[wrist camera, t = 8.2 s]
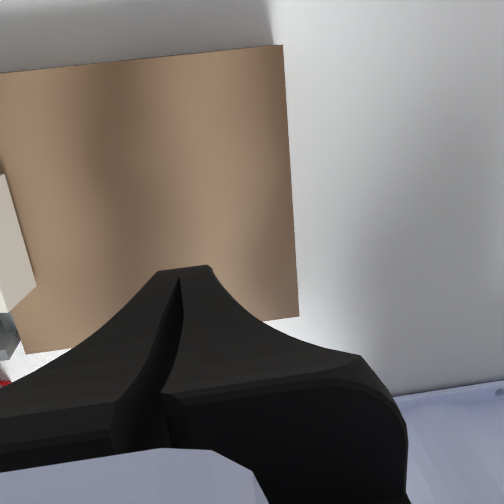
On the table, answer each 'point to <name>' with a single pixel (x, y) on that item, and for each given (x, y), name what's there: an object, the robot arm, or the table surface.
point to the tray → (8, 336)
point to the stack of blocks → (4, 383)
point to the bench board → (148, 184)
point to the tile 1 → (12, 255)
